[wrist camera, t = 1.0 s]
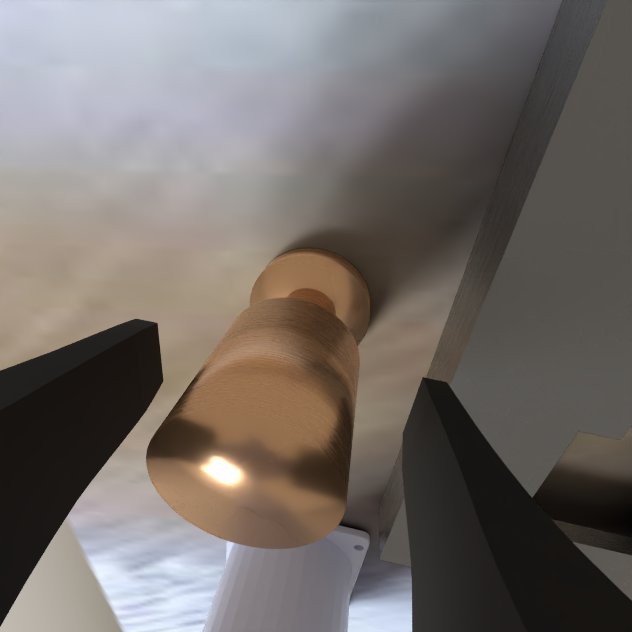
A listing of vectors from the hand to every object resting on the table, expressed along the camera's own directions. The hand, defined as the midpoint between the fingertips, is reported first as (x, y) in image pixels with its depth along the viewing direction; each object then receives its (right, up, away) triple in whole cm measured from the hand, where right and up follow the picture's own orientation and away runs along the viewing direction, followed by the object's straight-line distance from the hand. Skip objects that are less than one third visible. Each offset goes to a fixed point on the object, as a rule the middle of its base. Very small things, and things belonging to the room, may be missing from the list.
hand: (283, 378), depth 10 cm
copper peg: (+1, +2, +4) cm, 5 cm away
